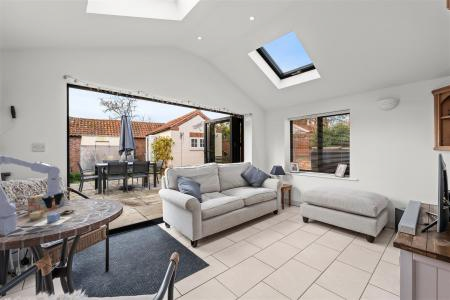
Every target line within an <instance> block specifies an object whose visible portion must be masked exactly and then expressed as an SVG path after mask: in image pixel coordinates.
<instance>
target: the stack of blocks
mask: <svg viewBox="0 0 450 300" xmlns="http://www.w3.org/2000/svg"><path fill="white" fill-rule="evenodd" d="M46 193H47V192H46ZM46 193H41V194H37V195H33V196H28V197H27V214H28V215H30V213H32V212H35V211H45V212H48V211H50V210H53V209H57V208H60V207H63V206H64V204H65V196H64V195H65V194H64V195H63V197H62V199H61V202H60V205H55V199H53V202H52V208H48V209H47V207H46V204H45V202H44V201H43V200H42V198H43V195H44V194H46ZM51 197H54V196H51Z"/></svg>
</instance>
